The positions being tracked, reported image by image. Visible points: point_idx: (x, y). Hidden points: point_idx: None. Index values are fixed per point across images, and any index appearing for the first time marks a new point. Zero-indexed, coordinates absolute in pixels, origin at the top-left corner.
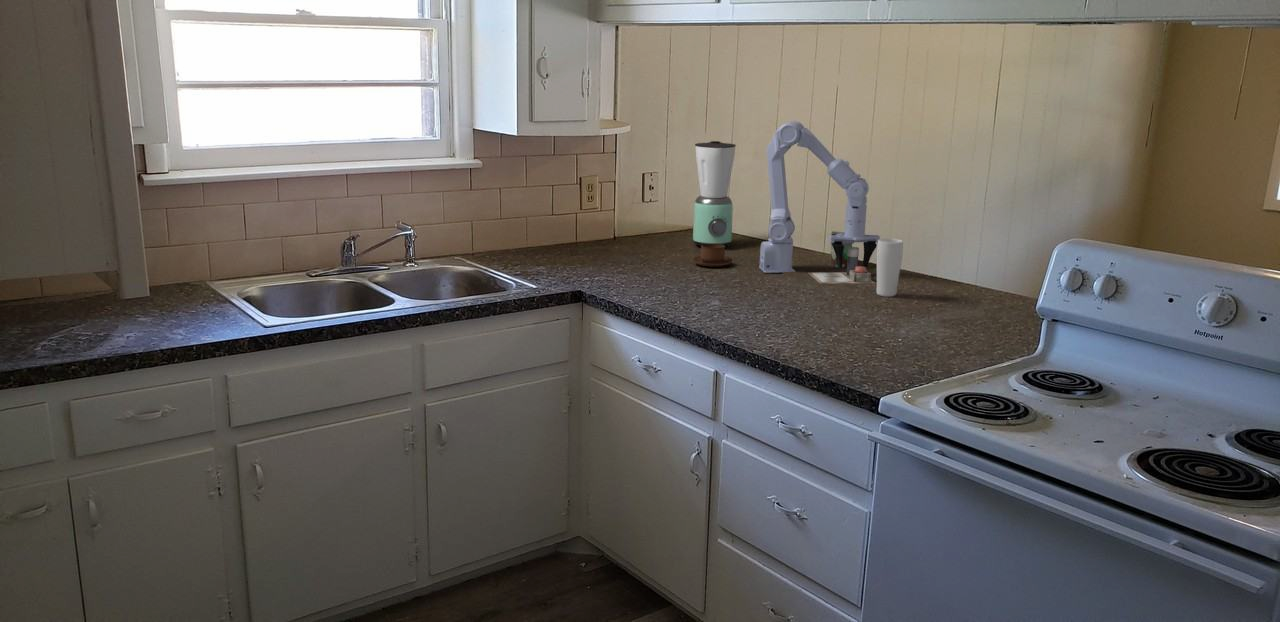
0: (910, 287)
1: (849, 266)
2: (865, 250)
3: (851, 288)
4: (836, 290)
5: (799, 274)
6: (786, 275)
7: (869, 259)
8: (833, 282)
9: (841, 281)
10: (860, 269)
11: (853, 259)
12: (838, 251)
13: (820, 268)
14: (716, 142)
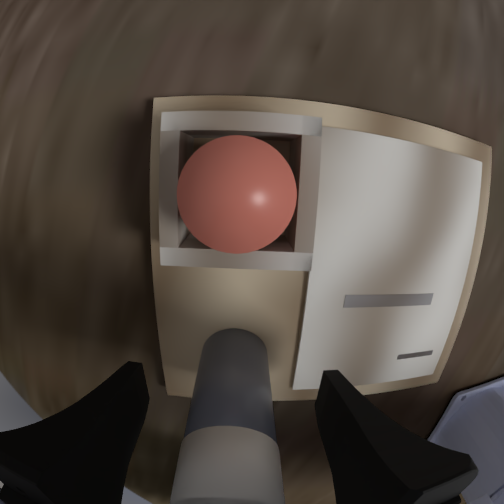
0: (15, 72)
1: (264, 377)
2: (108, 477)
3: (355, 34)
4: (438, 29)
5: (453, 377)
6: (495, 353)
7: (94, 389)
8: (436, 147)
9: (393, 144)
10: (257, 140)
11: (239, 409)
12: (423, 441)
13: (316, 467)
14: None
